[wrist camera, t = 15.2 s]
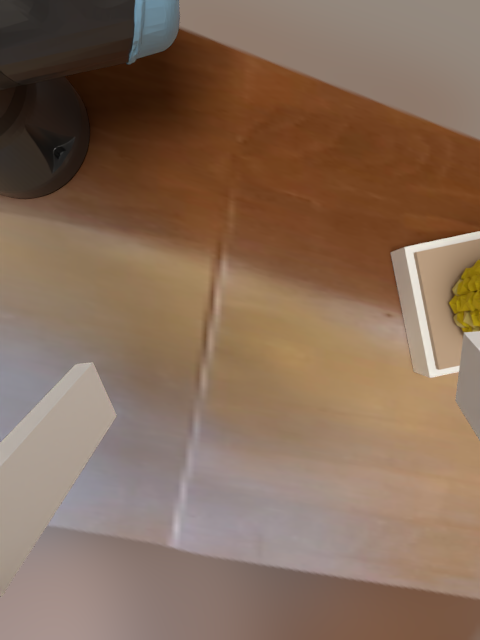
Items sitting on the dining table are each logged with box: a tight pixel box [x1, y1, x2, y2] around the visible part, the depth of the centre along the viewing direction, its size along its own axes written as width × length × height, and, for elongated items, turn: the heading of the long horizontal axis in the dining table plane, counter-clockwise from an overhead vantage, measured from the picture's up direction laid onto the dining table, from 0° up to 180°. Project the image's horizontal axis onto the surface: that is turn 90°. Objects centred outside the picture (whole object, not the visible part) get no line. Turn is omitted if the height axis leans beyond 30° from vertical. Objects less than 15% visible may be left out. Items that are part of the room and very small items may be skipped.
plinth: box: [390, 231, 480, 378], centre depth 38 cm, size 14×14×4 cm
